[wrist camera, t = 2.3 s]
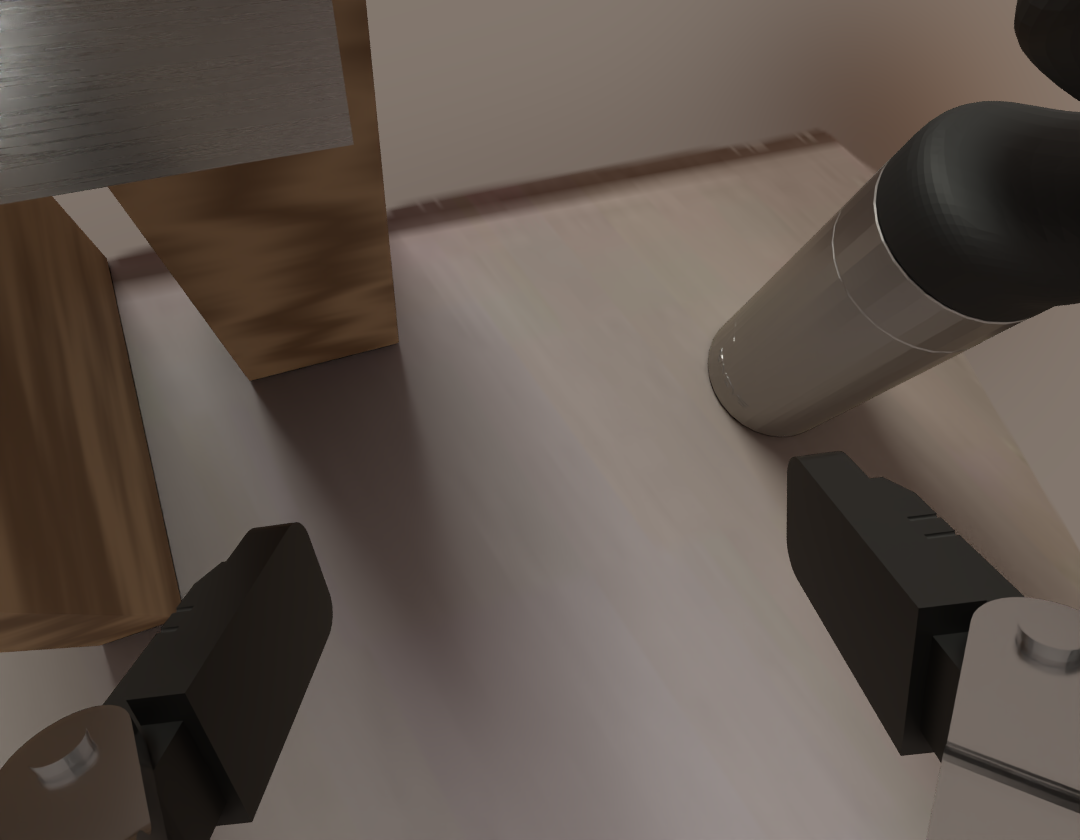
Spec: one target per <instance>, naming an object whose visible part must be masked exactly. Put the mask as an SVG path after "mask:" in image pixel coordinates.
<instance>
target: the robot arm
mask: <svg viewBox="0 0 1080 840" xmlns="http://www.w3.org/2000/svg"><path fill="white" fill-rule="evenodd" d="M1014 29H1015V33H1016V37H1017V39H1018V42H1019V45H1020V47H1021V49H1022V51H1023V52H1024V53H1025V54H1026V56H1027V57H1028V58H1029V59H1030V61H1031V62H1032V63H1033V64H1034V65H1035V66H1036V67H1037V68H1038V69H1039V70H1040V71H1041V72H1042V73H1043V74H1045V75H1046V76H1047V77H1048V78H1049V79H1050V80H1052V81H1053V82H1054V83H1055V84H1056V85H1057V86H1059V87H1060V88H1061V89H1063V90H1064V91H1066V92H1067V93H1068V94H1070V95H1071V96H1073V97H1074V98H1075V99H1077V100H1078V101H1080V0H1017V6H1016V12H1015V20H1014ZM1076 303H1080V112H1071V111H1063V110H1055V109H1049V108H1044V107H1038V106H1032V105H1026V104H1020V103H1014V102H1004V101H983V102H976V103H970V104H965V105H962V106H958V107H956V108H953V109H951V110H948V111H946V112H944V113H943V114H941V115H939V116H938V117H936V118H935V119H933V120H931V121H930V122H929V123H928V124H926V125H925V126H924V127H923V128H922V129H920V131H918V132H917V133H916V134H915V135H914V136H913V137H912V138H911V139H910V140H909V141H908V142H907V143H906V144H905V145H904V146H903V147H902V148H901V149H900V150H899V151H898V152H897V153H896V154H895V155H894V156H893V157H892V158H891V159H890V160H889V161H888V162H887V163H886V164H885V165H884V166H883V167H882V168H881V169H880V170H879V171H878V172H877V173H876V174H875V175H874V176H873V177H872V178H871V179H870V180H869V181H868V182H867V183H866V184H865V185H864V186H863V187H862V188H861V189H860V190H859V191H858V192H857V193H856V194H855V195H854V196H853V197H852V198H851V199H850V200H849V201H848V202H847V203H846V204H845V205H844V206H843V207H842V208H841V209H840V210H839V211H838V212H837V213H836V214H835V215H834V216H833V217H832V218H831V219H830V220H829V221H828V222H827V223H826V224H825V225H824V226H823V227H822V228H821V229H820V230H819V231H818V232H817V233H816V234H815V235H814V236H813V237H812V238H811V239H810V240H809V241H808V242H807V243H806V244H805V245H804V246H803V247H802V248H801V249H800V250H799V251H798V252H797V253H796V254H795V255H794V256H793V257H792V258H791V259H790V260H789V261H788V262H787V263H786V264H785V265H784V266H783V267H782V268H781V269H780V270H779V271H778V272H777V273H776V274H775V275H774V276H773V277H772V278H771V279H770V280H769V281H768V282H767V283H766V284H765V285H764V286H763V287H762V288H761V289H760V290H759V291H758V292H757V293H756V294H755V295H754V296H753V297H752V298H751V299H750V300H749V301H748V302H747V303H746V304H745V305H744V306H743V307H742V308H741V309H740V310H739V311H738V312H737V313H736V314H735V315H734V316H733V317H732V318H731V319H730V320H729V321H728V322H727V323H726V324H725V325H724V326H723V327H722V328H721V329H720V330H719V331H718V333H717V334H716V336H715V337H714V339H713V341H712V344H711V347H710V350H709V358H708V369H709V377H710V380H711V383H712V386H713V389H714V392H715V393H716V395H717V397H718V399H719V400H720V402H721V404H722V405H723V406H724V407H725V408H726V410H727V411H728V412H729V413H730V414H731V415H732V416H733V417H734V418H735V419H737V420H738V421H739V422H740V423H742V424H743V425H745V426H747V427H748V428H750V429H752V430H754V431H756V432H759V433H763V434H766V435H770V436H779V437H784V436H793V435H797V434H800V433H802V432H805V431H807V430H809V429H811V428H813V427H815V426H817V425H819V424H821V423H823V422H825V421H827V420H829V419H831V418H833V417H835V416H837V415H840V414H842V413H844V412H846V411H848V410H850V409H852V408H854V407H856V406H858V405H860V404H862V403H863V402H865V401H867V400H869V399H871V398H873V397H875V396H877V395H879V394H881V393H883V392H885V391H887V390H889V389H891V388H893V387H895V386H897V385H899V384H901V383H903V382H905V381H907V380H909V379H911V378H913V377H915V376H917V375H919V374H921V373H923V372H925V371H927V370H929V369H931V368H933V367H935V366H937V365H939V364H940V363H942V362H944V361H946V360H948V359H950V358H952V357H954V356H956V355H958V354H960V353H962V352H964V351H966V350H968V349H970V348H972V347H974V346H976V345H978V344H980V343H982V342H983V341H985V340H987V339H989V338H991V337H993V336H995V335H997V334H999V333H1001V332H1003V331H1005V330H1007V329H1009V328H1011V327H1013V326H1015V325H1017V324H1019V323H1021V322H1023V321H1025V320H1027V319H1029V318H1031V317H1034V316H1036V315H1038V314H1040V313H1042V312H1044V311H1046V310H1048V309H1050V308H1052V307H1054V306H1060V305H1070V304H1076ZM787 548H788V554H789V558H790V562H791V566H792V569H793V571H794V574H795V576H796V578H797V580H798V581H799V583H800V585H801V586H802V588H803V590H804V592H805V593H806V595H807V597H808V598H809V600H810V602H811V604H812V605H813V607H814V609H815V610H816V612H817V614H818V615H819V617H820V619H821V621H822V622H823V624H824V626H825V627H826V629H827V631H828V632H829V634H830V636H831V638H832V639H833V641H834V643H835V644H836V646H837V648H838V650H839V651H840V653H841V655H842V656H843V658H844V660H845V661H846V663H847V665H848V667H849V668H850V670H851V672H852V673H853V675H854V677H855V678H856V680H857V682H858V684H859V685H860V687H861V689H862V690H863V692H864V694H865V696H866V697H867V699H868V701H869V702H870V704H871V706H872V707H873V709H874V711H875V713H876V714H877V716H878V718H879V719H880V721H881V723H882V724H883V726H884V728H885V730H886V731H887V733H888V735H889V736H890V738H891V740H892V742H893V743H894V745H895V747H896V748H897V750H898V752H899V753H900V755H901V756H904V755H913V754H922V753H932V752H935V754H936V756H937V757H938V759H939V760H940V762H941V767H940V772H939V777H938V782H937V787H936V792H935V798H934V803H933V808H932V813H931V818H930V823H929V828H928V833H927V838H926V840H1080V610H1077V609H1074V608H1072V607H1069V606H1066V605H1063V604H1059V603H1056V602H1052V601H1047V600H1042V599H1036V598H1027V597H1024V596H1023V595H1022V594H1021V593H1020V592H1019V591H1018V590H1017V589H1016V588H1015V587H1014V586H1013V585H1012V584H1011V583H1009V582H1008V581H1007V580H1006V579H1005V578H1004V577H1003V576H1002V575H1001V574H1000V573H999V572H998V571H997V570H996V569H995V568H994V567H993V566H992V565H990V564H989V563H988V562H987V561H986V560H985V559H984V558H983V557H982V556H981V555H980V554H979V553H978V552H977V551H976V550H975V549H974V548H973V547H971V546H970V545H969V544H968V543H967V542H966V541H965V540H964V539H963V538H962V537H961V536H960V535H957V536H956V535H955V530H953V529H952V528H951V527H950V526H949V525H948V524H947V523H946V522H945V521H944V520H943V519H942V518H941V517H940V518H937V515H936V512H934V511H933V510H932V509H931V508H930V507H929V506H928V505H927V504H926V503H925V502H924V501H923V500H922V499H921V498H920V497H919V496H918V495H917V494H915V493H914V492H912V491H910V490H908V489H906V488H904V487H902V486H900V485H898V484H896V483H894V482H892V481H890V480H888V479H885V478H883V477H879V478H871V479H869V478H868V476H867V475H866V474H865V473H864V472H863V471H862V470H861V469H860V468H859V467H858V466H857V465H856V464H855V463H854V462H853V461H852V460H851V459H850V458H849V457H848V456H847V455H846V454H845V453H844V452H842V451H836V452H828V453H821V454H813V455H806V456H798V457H793V458H791V459H790V461H789V464H788V470H787ZM176 610H177V611H176V613H172V614H171V616H170V617H169V618H168V620H167V621H166V622H165V624H164V625H163V626H162V627H161V633H158V634H156V635H155V637H154V638H153V639H152V641H151V642H150V643H149V645H148V646H147V647H146V649H145V650H144V651H143V653H142V654H141V655H140V656H139V658H138V659H137V660H136V662H135V663H134V664H133V666H132V667H131V668H130V670H129V671H128V672H127V674H126V675H125V676H124V678H123V679H122V680H121V682H120V683H119V684H118V685H117V687H116V688H115V689H114V691H113V692H112V693H111V695H110V696H109V697H108V699H107V700H106V701H105V703H104V704H103V705H101V706H94V707H91V708H87V709H84V710H81V711H78V712H75V713H73V714H71V715H69V716H66V717H64V718H62V719H60V720H59V721H57V722H55V723H53V724H51V725H50V726H48V727H47V728H45V729H44V730H42V731H41V732H39V733H38V734H36V735H35V736H34V737H32V738H31V739H30V740H28V741H27V742H26V743H25V744H24V745H23V746H22V747H20V748H19V749H18V750H17V751H16V752H15V753H14V754H13V755H12V756H11V757H10V758H9V760H8V761H7V762H6V763H5V765H4V766H3V767H2V768H1V770H0V840H210V837H211V835H212V833H213V831H214V829H215V827H216V826H220V825H229V824H239V823H248V822H252V821H253V818H254V816H255V814H256V811H257V809H258V806H259V804H260V802H261V799H262V797H263V794H264V792H265V789H266V787H267V785H268V782H269V780H270V777H271V775H272V772H273V770H274V768H275V765H276V763H277V760H278V758H279V755H280V753H281V751H282V748H283V746H284V743H285V741H286V738H287V736H288V734H289V731H290V729H291V726H292V724H293V722H294V719H295V717H296V714H297V712H298V709H299V707H300V705H301V702H302V700H303V697H304V695H305V692H306V690H307V688H308V685H309V683H310V680H311V678H312V675H313V673H314V671H315V668H316V666H317V663H318V661H319V658H320V656H321V654H322V651H323V649H324V646H325V644H326V642H327V639H328V637H329V634H330V631H331V626H332V618H333V611H332V601H331V597H330V593H329V591H328V588H327V585H326V582H325V580H324V577H323V574H322V571H321V568H320V566H319V563H318V560H317V557H316V555H315V552H314V549H313V546H312V543H311V541H310V538H309V535H308V533H307V531H306V529H305V528H304V526H303V525H302V524H300V523H297V522H295V523H287V524H280V525H272V526H265V527H258V528H253V529H251V530H249V531H248V532H247V534H246V535H245V536H244V538H243V539H242V540H241V542H240V543H239V545H238V546H237V547H236V549H235V550H234V552H233V553H232V554H231V556H230V557H229V558H228V560H227V561H226V562H222V563H220V564H219V565H218V566H217V567H215V568H214V569H213V570H211V571H210V572H209V573H208V574H206V575H205V576H204V577H203V578H201V579H200V580H199V581H198V582H196V583H195V584H194V585H193V587H192V588H191V589H190V591H189V592H188V593H187V594H186V596H185V597H184V598H183V600H182V601H181V602H180V604H179V605H178V606H177V608H176Z"/></svg>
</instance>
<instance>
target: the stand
mask: <svg viewBox="0 0 1080 840" xmlns="http://www.w3.org/2000/svg"><path fill="white" fill-rule="evenodd" d="M332 4H333V11H334V18H335V24H336V31H337V37H338V44H339V51H340V57H341V64H342V71H343V77H344V84H345V90H346V97H347V104H348V110H349V117H350V123H351V130H352V137H353V143H354V145H349V146H343V147H337V148H331V149H325V150H319V151H313V152H307V153H302V154H296V155H290V156H284V157H278V158H272V159H266V160H261V161H255V162H249V163H243V164H237V165H231V166H225V167H219V168H214V169H208V170H202V171H196V172H190V173H184V174H178V175H172V176H167V177H161V178H155V179H149V180H143V181H137V182H131V183H126V184H120V185H114V186H108V188H109V189H110V191H111V192H112V193H113V194H114V196H115V197H116V199H117V200H118V202H119V203H120V204H121V206H122V207H123V208H124V210H125V211H126V212H127V214H128V215H129V216H130V218H131V219H132V221H133V222H134V223H135V225H136V226H137V227H138V229H139V230H140V232H141V233H142V234H143V236H144V237H145V238H146V240H147V241H148V243H149V244H150V245H151V247H152V248H153V249H154V251H155V252H156V254H157V255H158V256H159V258H160V259H161V260H162V262H163V263H164V264H165V266H166V267H167V269H168V270H169V271H170V273H171V274H172V275H173V277H174V278H175V280H176V281H177V282H178V284H179V285H180V286H181V288H182V289H183V290H184V292H185V293H186V295H187V296H188V297H189V299H190V300H191V301H192V303H193V304H194V306H195V307H196V308H197V310H198V311H199V312H200V314H201V315H202V317H203V318H204V319H205V321H206V322H207V323H208V325H209V326H210V327H211V329H212V330H213V332H214V333H215V334H216V336H217V337H218V338H219V340H220V341H221V343H222V344H223V345H224V347H225V348H226V349H227V351H228V352H229V353H230V355H231V356H232V358H233V359H234V360H235V362H236V363H237V364H238V366H239V367H240V369H241V370H242V371H243V373H244V374H245V375H246V377H247V378H248V379H249V381H251V380H255V379H259V378H263V377H267V376H271V375H275V374H279V373H282V372H286V371H290V370H294V369H298V368H302V367H306V366H310V365H314V364H318V363H322V362H326V361H330V360H333V359H337V358H341V357H345V356H349V355H353V354H357V353H361V352H365V351H369V350H373V349H377V348H380V347H384V346H388V345H392V344H396V343H399V339H398V328H397V318H396V308H395V297H394V287H393V277H392V266H391V256H390V246H389V235H388V225H387V215H386V204H385V195H384V184H383V174H382V163H381V154H380V143H379V133H378V122H377V112H376V101H375V91H374V81H373V70H372V60H371V49H370V40H369V29H368V18H367V8H366V0H332ZM180 602H181V600H180V595H179V590H178V586H177V581H176V576H175V572H174V567H173V563H172V558H171V553H170V549H169V544H168V539H167V535H166V530H165V526H164V521H163V516H162V512H161V507H160V502H159V498H158V493H157V489H156V484H155V479H154V475H153V470H152V465H151V461H150V456H149V452H148V447H147V442H146V438H145V433H144V428H143V424H142V419H141V415H140V410H139V405H138V401H137V396H136V391H135V387H134V382H133V378H132V373H131V368H130V364H129V359H128V354H127V350H126V345H125V341H124V336H123V331H122V327H121V322H120V317H119V313H118V308H117V304H116V299H115V294H114V290H113V285H112V280H111V276H110V271H109V266H108V262H107V258H106V257H105V256H104V255H103V254H102V253H101V252H100V250H99V249H98V248H97V247H96V246H95V245H94V243H93V242H92V241H91V240H90V239H89V238H88V237H87V236H86V234H85V233H84V232H83V231H82V230H81V229H80V228H79V227H78V225H77V224H76V223H75V222H74V221H73V220H72V218H71V217H70V216H69V215H68V214H67V213H66V212H65V210H64V209H63V208H62V207H61V206H60V205H59V204H58V202H57V201H56V200H55V199H54V198H53V197H52V196H49V197H43V198H38V199H32V200H26V201H20V202H14V203H8V204H2V205H0V652H14V651H28V650H42V649H56V648H70V647H85V646H99V645H103V644H106V643H109V642H112V641H115V640H118V639H121V638H123V637H126V636H129V635H132V634H135V633H138V632H141V631H144V630H147V629H150V628H153V627H156V626H159V625H162V624H165V622H166V621H167V620H168V618H169V617H170V616H171V614H172V613H176V611H177V610H176V608H177V606H178V605H179V604H180Z"/></svg>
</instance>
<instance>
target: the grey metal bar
mask: <svg viewBox="0 0 1080 840" xmlns="http://www.w3.org/2000/svg"><path fill="white" fill-rule="evenodd" d="M349 145H354V143H353V137H352V130H351V123H350V117H349V110H348V104H347V97H346V90H345V84H344V77H343V71H342V64H341V57H340V51H339V44H338V37H337V31H336V24H335V18H334V11H333V4H332V0H0V205H2V204H8V203H14V202H20V201H26V200H32V199H38V198H43V197H49V196H55V195H61V194H66V193H73V192H78V191H84V190H90V189H96V188H102V187H108V186H114V185H120V184H126V183H131V182H137V181H143V180H149V179H155V178H161V177H167V176H172V175H178V174H184V173H190V172H196V171H202V170H208V169H214V168H219V167H225V166H231V165H237V164H243V163H249V162H255V161H261V160H266V159H272V158H278V157H284V156H290V155H296V154H302V153H307V152H313V151H319V150H325V149H331V148H337V147H343V146H349Z"/></svg>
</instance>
